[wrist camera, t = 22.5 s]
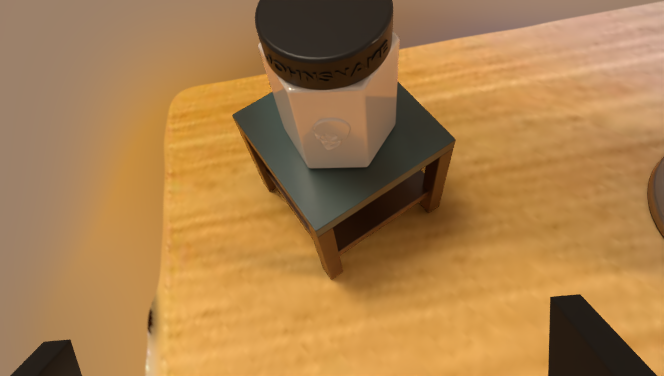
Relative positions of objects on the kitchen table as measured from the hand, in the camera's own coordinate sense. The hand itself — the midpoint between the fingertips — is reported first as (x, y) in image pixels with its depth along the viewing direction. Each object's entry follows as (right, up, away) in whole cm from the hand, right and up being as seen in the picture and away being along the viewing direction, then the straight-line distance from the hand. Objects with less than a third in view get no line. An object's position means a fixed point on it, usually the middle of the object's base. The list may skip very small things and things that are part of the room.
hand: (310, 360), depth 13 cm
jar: (+1, +10, +25) cm, 27 cm away
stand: (+2, +4, +36) cm, 36 cm away
